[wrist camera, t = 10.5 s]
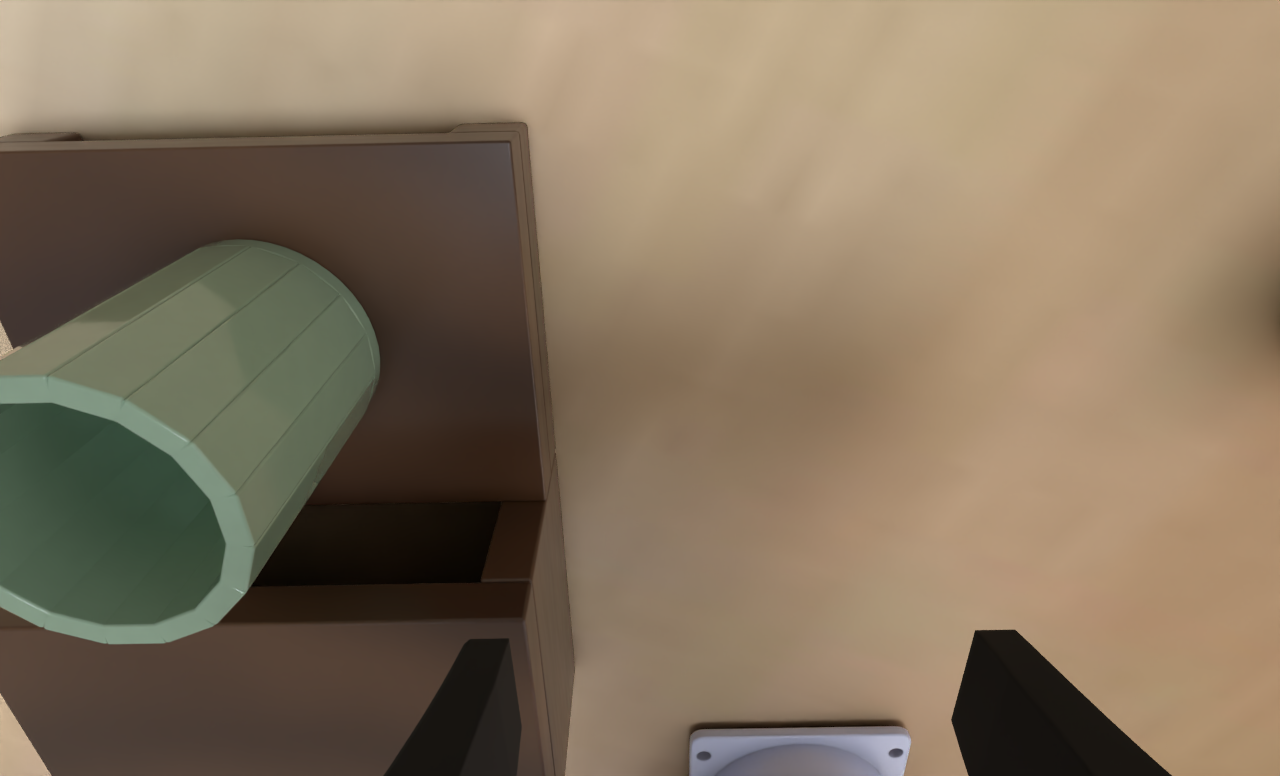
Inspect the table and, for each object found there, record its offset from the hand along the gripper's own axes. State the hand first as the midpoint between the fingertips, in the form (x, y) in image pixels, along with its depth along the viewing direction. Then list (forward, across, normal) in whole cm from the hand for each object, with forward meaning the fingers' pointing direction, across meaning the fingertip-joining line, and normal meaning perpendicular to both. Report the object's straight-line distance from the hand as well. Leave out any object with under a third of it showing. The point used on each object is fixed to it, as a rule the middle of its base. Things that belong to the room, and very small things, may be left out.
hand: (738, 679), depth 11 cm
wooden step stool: (+10, +10, +2) cm, 14 cm away
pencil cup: (+7, +10, -3) cm, 13 cm away
